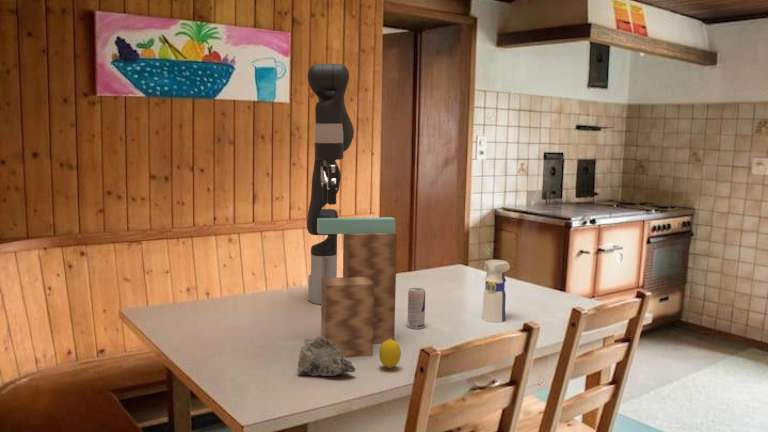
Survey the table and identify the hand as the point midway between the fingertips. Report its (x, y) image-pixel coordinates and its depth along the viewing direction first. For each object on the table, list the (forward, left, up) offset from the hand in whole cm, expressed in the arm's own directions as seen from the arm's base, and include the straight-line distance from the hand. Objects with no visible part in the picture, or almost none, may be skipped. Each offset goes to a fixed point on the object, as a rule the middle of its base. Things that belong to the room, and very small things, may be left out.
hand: (329, 202), depth 175 cm
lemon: (+20, -1, -42) cm, 46 cm away
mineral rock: (+7, -14, -42) cm, 45 cm away
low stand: (+3, +5, -42) cm, 42 cm away
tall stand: (+4, +17, -42) cm, 45 cm away
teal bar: (0, +14, -10) cm, 17 cm away
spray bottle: (+30, +57, -42) cm, 77 cm away
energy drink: (+11, +36, -42) cm, 56 cm away
